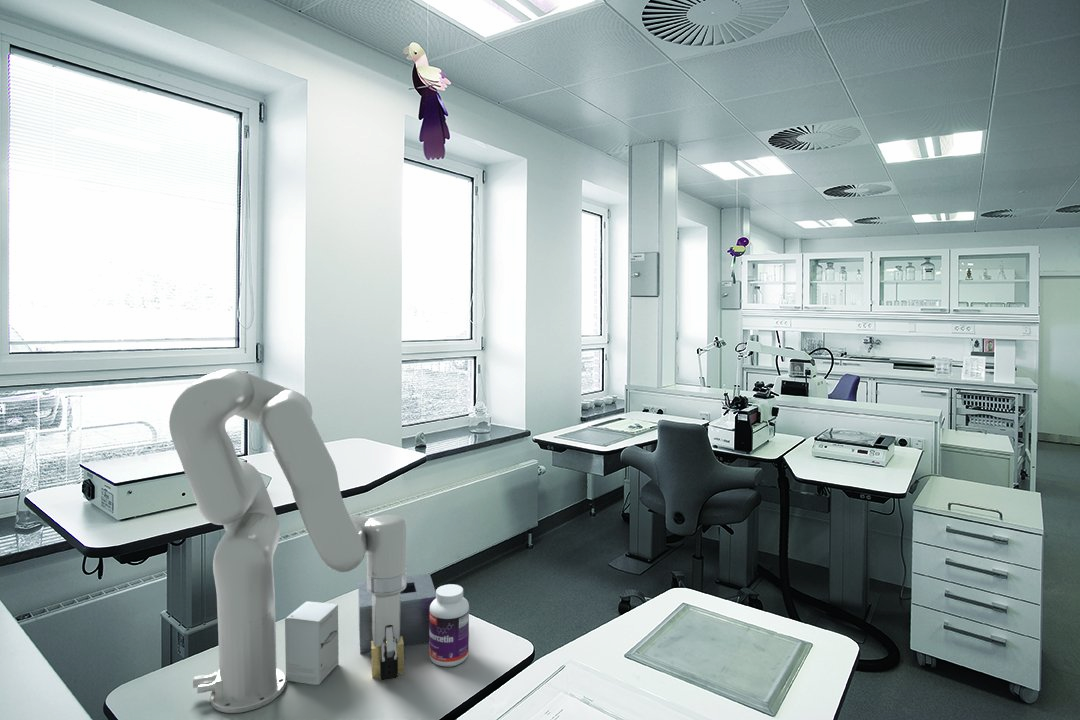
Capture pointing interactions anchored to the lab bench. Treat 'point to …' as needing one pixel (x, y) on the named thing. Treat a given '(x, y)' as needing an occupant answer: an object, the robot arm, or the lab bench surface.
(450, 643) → the pill bottle
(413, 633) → the grey slotted box
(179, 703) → the lab bench surface
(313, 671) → the supplement box
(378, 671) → the yellow wooden block
